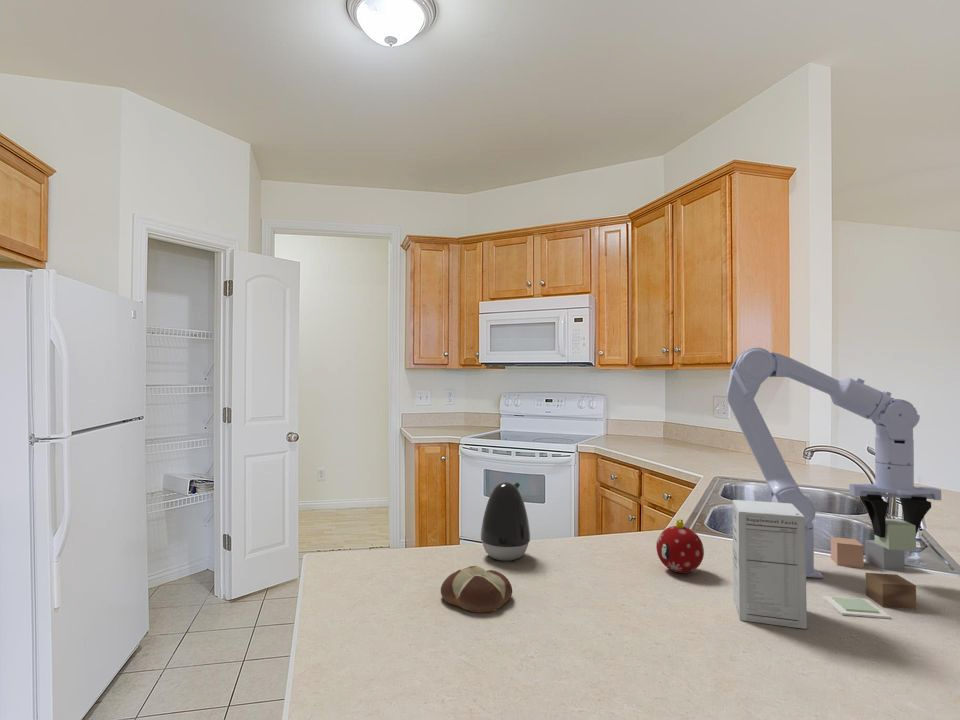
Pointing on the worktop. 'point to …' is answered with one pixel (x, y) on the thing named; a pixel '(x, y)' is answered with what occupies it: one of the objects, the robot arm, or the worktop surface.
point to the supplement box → (769, 563)
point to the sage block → (898, 535)
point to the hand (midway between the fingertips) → (894, 536)
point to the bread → (476, 589)
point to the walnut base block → (891, 591)
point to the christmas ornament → (680, 548)
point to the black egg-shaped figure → (505, 523)
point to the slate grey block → (883, 556)
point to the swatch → (855, 607)
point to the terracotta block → (847, 552)
